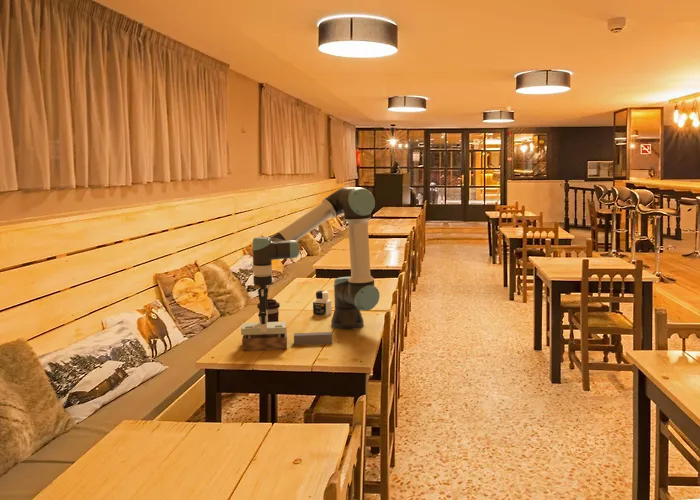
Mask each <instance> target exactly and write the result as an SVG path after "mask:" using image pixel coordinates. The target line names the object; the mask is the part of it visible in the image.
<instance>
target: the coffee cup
mask: <svg viewBox="0 0 700 500" xmlns="http://www.w3.org/2000/svg"><path fill="white" fill-rule="evenodd" d="M256 305H257V307H256V308H257V309H258V314H260V302H259V303H257V304H256ZM267 305H268V306H267V307H269V309H266V310H268V322H279V318H280V317H279V315H280V311H279V308H280V306H281V304H280V303H279V302H278V301H277V300H276V299H275V298H274V299H273V298H267ZM258 319H259V320H258V321H260V316H258Z"/></svg>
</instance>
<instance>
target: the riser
mask: <svg viewBox="0 0 700 500" xmlns="http://www.w3.org/2000/svg"><path fill="white" fill-rule="evenodd" d="M331 344H333V332H332V331H322V332H319V331H318V332H295V333H293V346H305V345H306V346H307V345H331Z"/></svg>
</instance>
